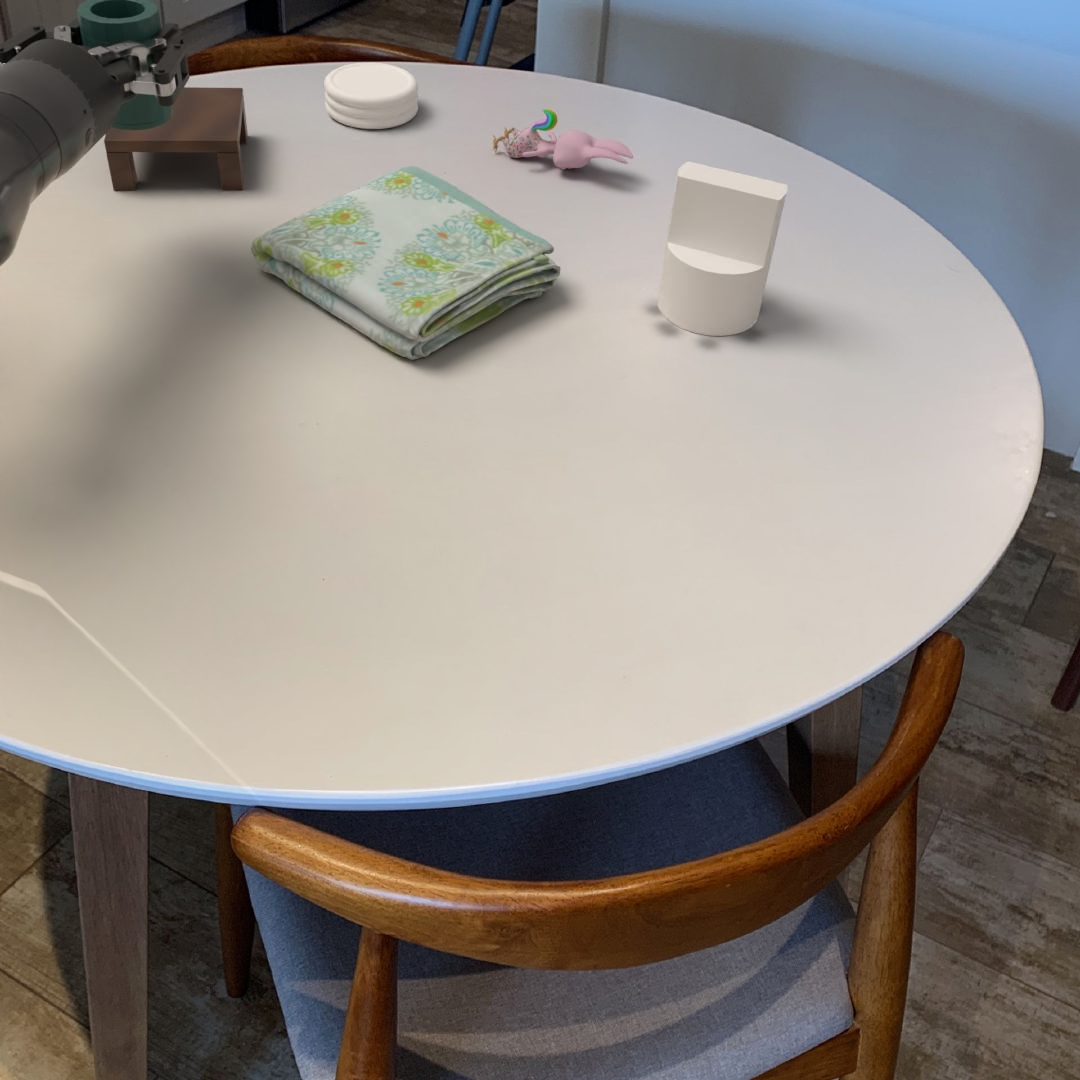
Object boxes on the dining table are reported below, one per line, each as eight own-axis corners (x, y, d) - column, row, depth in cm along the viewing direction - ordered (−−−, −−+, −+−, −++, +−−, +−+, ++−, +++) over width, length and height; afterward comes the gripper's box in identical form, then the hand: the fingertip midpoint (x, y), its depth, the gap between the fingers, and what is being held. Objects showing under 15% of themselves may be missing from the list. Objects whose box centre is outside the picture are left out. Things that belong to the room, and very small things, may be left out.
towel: (416, 374, 94) (415, 319, 90) (250, 269, 104) (243, 215, 100) (567, 293, 104) (572, 241, 101) (403, 204, 114) (402, 154, 110)
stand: (113, 190, 112) (103, 140, 109) (127, 134, 121) (118, 86, 117) (242, 190, 114) (237, 140, 110) (247, 135, 122) (242, 87, 119)
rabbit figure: (486, 171, 123) (617, 188, 117) (480, 114, 119) (615, 128, 113) (515, 149, 127) (643, 164, 121) (509, 93, 123) (641, 106, 117)
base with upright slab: (644, 319, 102) (663, 190, 94) (674, 271, 108) (694, 146, 100) (744, 346, 100) (773, 217, 92) (769, 295, 106) (798, 170, 98)
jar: (92, 130, 95) (71, 21, 89) (102, 98, 99) (83, -7, 94) (169, 130, 96) (153, 23, 90) (176, 100, 100) (161, -5, 94)
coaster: (379, 139, 124) (378, 107, 121) (306, 112, 127) (304, 80, 125) (436, 109, 130) (436, 77, 127) (365, 84, 133) (364, 53, 131)
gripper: (130, 74, 80) (215, -8, 92) (-72, 47, 81) (39, -30, 93) (148, 177, 85) (226, 87, 98) (-43, 151, 86) (59, 65, 98)
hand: (134, 30), depth 95 cm, fingers closed on jar, 6 cm apart
